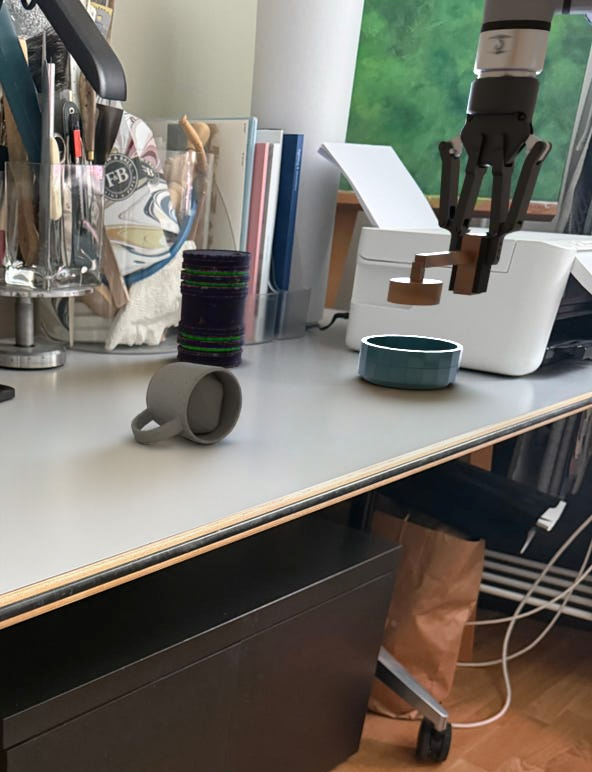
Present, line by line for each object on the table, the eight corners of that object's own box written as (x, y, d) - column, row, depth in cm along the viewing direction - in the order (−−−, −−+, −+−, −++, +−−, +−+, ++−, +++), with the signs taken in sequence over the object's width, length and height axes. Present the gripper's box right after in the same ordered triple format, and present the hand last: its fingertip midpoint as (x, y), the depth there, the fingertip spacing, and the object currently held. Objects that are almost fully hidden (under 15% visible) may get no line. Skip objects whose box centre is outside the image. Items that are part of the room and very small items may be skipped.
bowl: (462, 378, 131) (470, 341, 129) (446, 395, 121) (453, 355, 119) (369, 367, 137) (374, 332, 134) (345, 383, 126) (350, 345, 124)
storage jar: (167, 364, 135) (173, 252, 128) (184, 353, 143) (190, 247, 136) (235, 370, 132) (245, 256, 125) (248, 358, 140) (258, 251, 134)
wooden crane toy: (450, 290, 122) (460, 232, 119) (494, 295, 118) (506, 235, 115) (377, 301, 110) (386, 237, 107) (424, 307, 106) (435, 240, 103)
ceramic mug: (192, 422, 104) (196, 351, 101) (241, 439, 98) (246, 364, 95) (114, 435, 99) (115, 361, 96) (160, 454, 93) (163, 376, 90)
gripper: (429, 77, 111) (397, 287, 121) (561, 71, 101) (514, 300, 112) (458, 81, 116) (425, 283, 126) (586, 76, 106) (539, 295, 117)
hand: (467, 291), depth 119 cm, fingers closed on wooden crane toy, 2 cm apart
